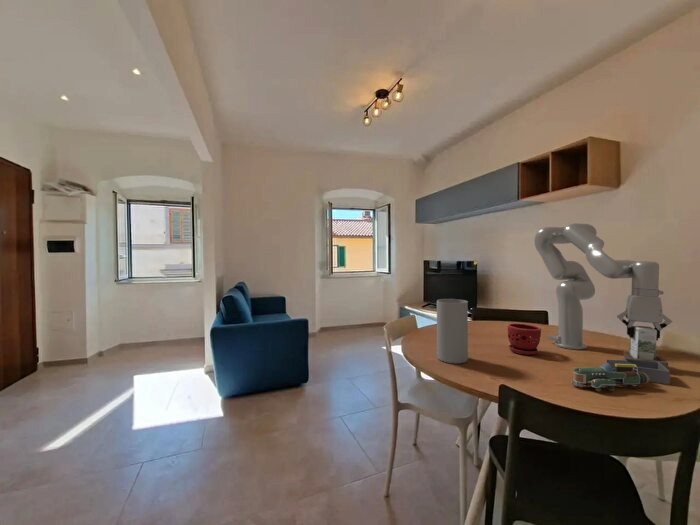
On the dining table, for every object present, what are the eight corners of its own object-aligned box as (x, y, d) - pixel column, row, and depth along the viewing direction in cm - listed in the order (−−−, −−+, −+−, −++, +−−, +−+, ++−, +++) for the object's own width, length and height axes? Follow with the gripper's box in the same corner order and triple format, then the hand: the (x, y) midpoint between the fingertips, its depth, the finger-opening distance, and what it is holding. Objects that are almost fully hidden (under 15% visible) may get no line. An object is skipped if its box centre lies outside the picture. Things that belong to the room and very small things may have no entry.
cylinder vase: (431, 359, 129) (431, 301, 128) (444, 352, 138) (444, 298, 138) (460, 366, 120) (460, 304, 120) (472, 358, 130) (472, 300, 129)
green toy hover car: (563, 381, 106) (563, 358, 106) (635, 381, 105) (635, 357, 105) (583, 394, 96) (584, 368, 96) (663, 393, 96) (663, 367, 96)
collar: (630, 368, 117) (630, 358, 117) (623, 360, 125) (623, 350, 125) (668, 373, 111) (668, 362, 111) (658, 364, 120) (658, 354, 120)
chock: (616, 381, 105) (616, 364, 105) (606, 376, 110) (606, 359, 110) (636, 382, 104) (636, 365, 104) (625, 377, 109) (625, 360, 109)
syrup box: (646, 361, 121) (647, 325, 120) (655, 367, 115) (657, 329, 115) (628, 359, 123) (629, 324, 122) (636, 365, 117) (638, 328, 117)
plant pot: (534, 358, 129) (535, 330, 128) (502, 351, 139) (502, 325, 138) (544, 352, 137) (545, 326, 137) (514, 345, 147) (514, 321, 147)
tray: (629, 378, 107) (629, 366, 107) (622, 369, 116) (622, 357, 116) (669, 384, 102) (670, 371, 102) (659, 374, 111) (659, 362, 110)
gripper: (671, 293, 117) (670, 339, 117) (613, 290, 126) (611, 332, 126) (680, 295, 110) (677, 344, 111) (617, 292, 119) (616, 337, 120)
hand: (642, 337), depth 119 cm, fingers closed on syrup box, 6 cm apart
